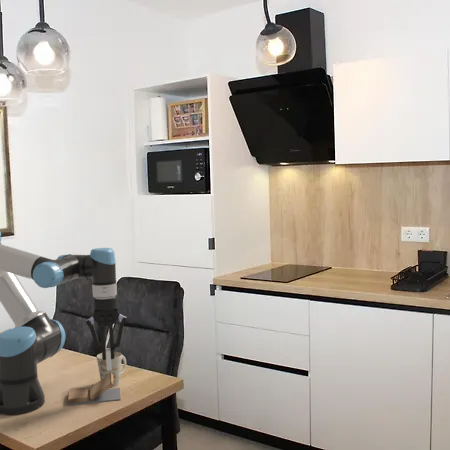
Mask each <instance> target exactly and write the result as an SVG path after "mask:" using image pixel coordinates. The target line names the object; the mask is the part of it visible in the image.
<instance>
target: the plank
mask: <svg viewBox="0 0 450 450" xmlns="http://www.w3.org/2000/svg"><path fill="white" fill-rule="evenodd" d="M113 385H114V382H113V374H112V373H110V374H109V375H107V376H106V377H104V378H103V379H102V380H101V379H100V380H99V381H97V382H96V383H94V384H93V385H92V386H90V389H89V390H90V398H91V399H92V400H93V399H95V398H96V397H97V396H99V395H100V394H102V393H103V392H104V391H106V390H107V389H111V388H112V386H113ZM113 387H114V386H113Z"/></svg>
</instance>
